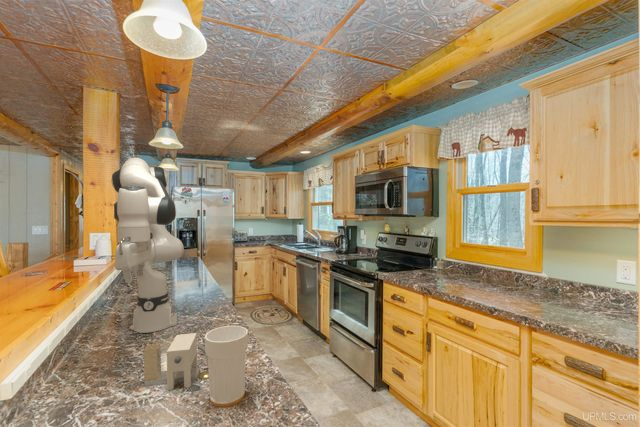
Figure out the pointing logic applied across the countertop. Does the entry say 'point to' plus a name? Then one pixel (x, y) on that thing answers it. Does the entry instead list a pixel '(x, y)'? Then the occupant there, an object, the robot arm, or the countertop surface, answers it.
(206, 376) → the brass token
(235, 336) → the cup
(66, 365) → the countertop surface
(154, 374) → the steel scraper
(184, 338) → the notched cream block
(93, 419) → the countertop surface
